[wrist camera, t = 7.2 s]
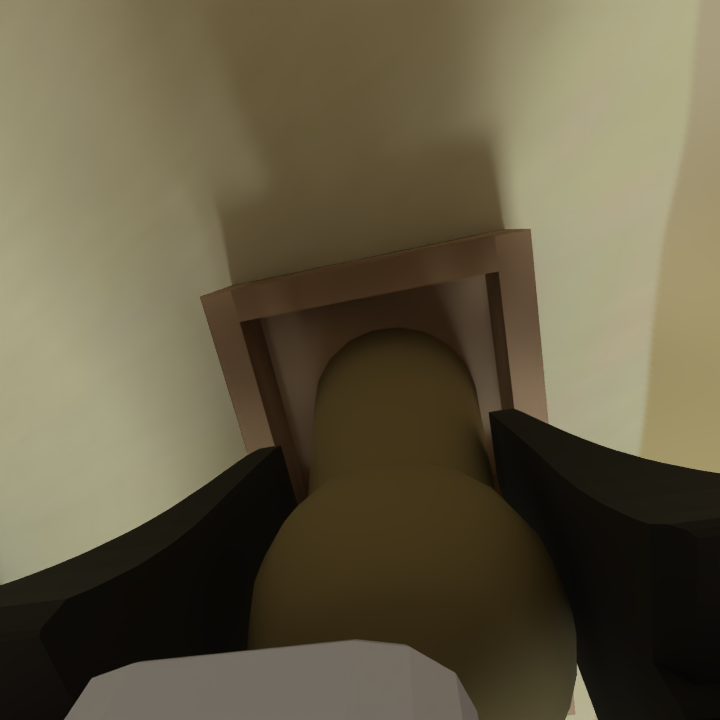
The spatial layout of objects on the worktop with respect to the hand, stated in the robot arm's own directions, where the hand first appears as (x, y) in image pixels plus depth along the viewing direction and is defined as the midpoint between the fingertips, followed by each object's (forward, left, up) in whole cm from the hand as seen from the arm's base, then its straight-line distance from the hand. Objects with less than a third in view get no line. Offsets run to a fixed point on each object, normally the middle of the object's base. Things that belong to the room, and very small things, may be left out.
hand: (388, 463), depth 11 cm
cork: (-1, 0, -5) cm, 5 cm away
